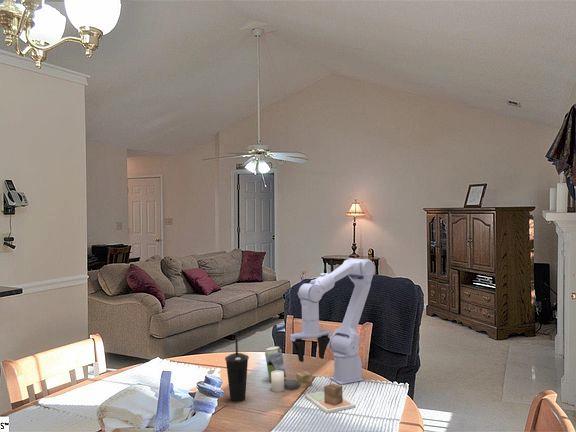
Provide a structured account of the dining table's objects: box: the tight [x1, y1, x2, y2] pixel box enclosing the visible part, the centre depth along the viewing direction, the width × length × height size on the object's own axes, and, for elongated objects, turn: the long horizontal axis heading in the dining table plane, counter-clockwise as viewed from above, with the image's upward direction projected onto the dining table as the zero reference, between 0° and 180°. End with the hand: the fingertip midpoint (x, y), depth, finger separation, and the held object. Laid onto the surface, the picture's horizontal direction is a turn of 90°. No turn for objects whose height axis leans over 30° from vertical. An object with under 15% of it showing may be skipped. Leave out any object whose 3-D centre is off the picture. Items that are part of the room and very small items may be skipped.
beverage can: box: [264, 346, 287, 381], centre depth 181 cm, size 6×7×12 cm
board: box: [304, 390, 356, 414], centre depth 160 cm, size 10×15×1 cm, turn 24°
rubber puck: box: [284, 379, 300, 391], centre depth 174 cm, size 5×5×2 cm
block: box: [323, 383, 344, 406], centre depth 157 cm, size 4×4×5 cm
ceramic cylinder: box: [270, 370, 285, 393], centre depth 172 cm, size 4×4×6 cm
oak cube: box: [295, 371, 313, 388], centre depth 176 cm, size 4×4×4 cm
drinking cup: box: [224, 337, 250, 403], centre depth 164 cm, size 8×8×20 cm
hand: (311, 359), depth 171 cm, fingers open, 7 cm apart
